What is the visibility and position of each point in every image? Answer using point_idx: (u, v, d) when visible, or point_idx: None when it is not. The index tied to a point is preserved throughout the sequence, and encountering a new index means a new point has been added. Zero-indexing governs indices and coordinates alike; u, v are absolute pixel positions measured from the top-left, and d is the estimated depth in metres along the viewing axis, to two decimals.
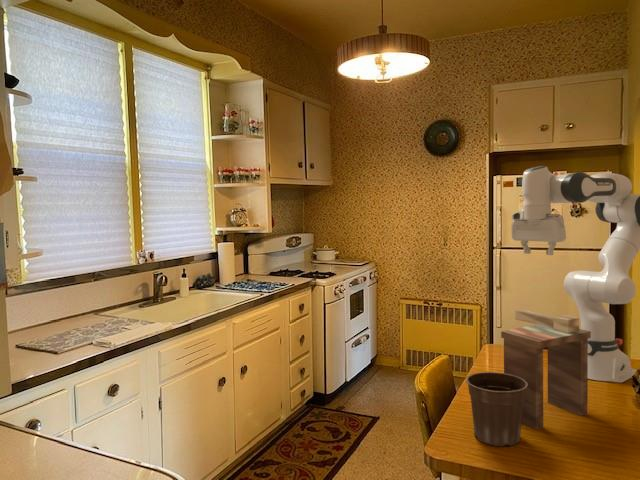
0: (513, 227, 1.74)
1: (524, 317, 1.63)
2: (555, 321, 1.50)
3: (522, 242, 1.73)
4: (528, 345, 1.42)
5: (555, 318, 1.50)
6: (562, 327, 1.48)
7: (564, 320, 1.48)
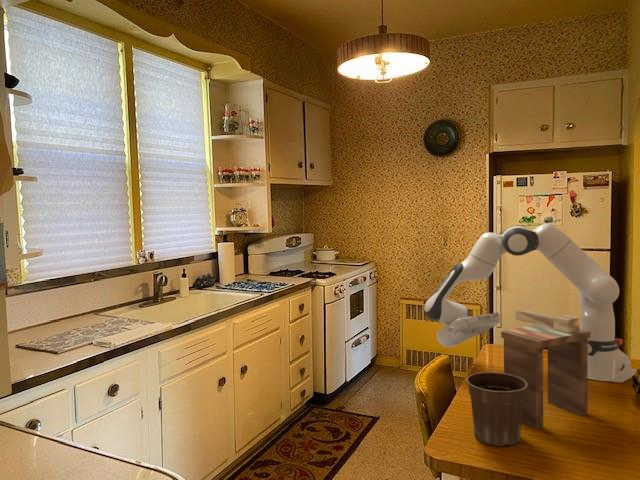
0: (491, 326, 1.90)
1: (524, 317, 1.63)
2: (555, 321, 1.50)
3: (494, 320, 1.85)
4: (528, 345, 1.42)
5: (555, 318, 1.50)
6: (562, 327, 1.48)
7: (564, 320, 1.48)
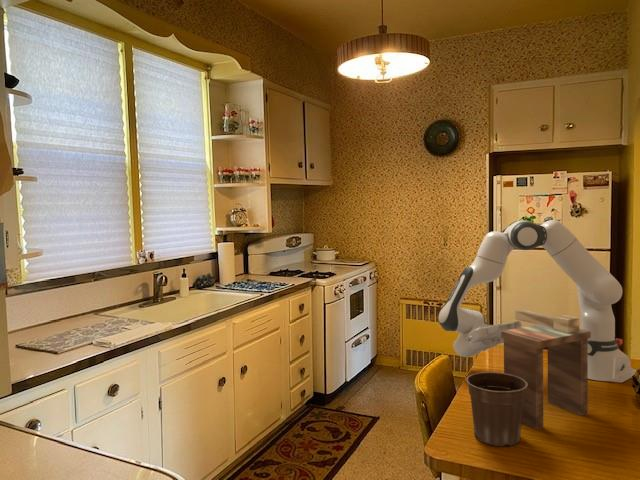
0: None
1: (524, 317, 1.63)
2: (555, 321, 1.50)
3: None
4: (528, 345, 1.42)
5: (555, 318, 1.50)
6: (562, 327, 1.48)
7: (564, 320, 1.48)
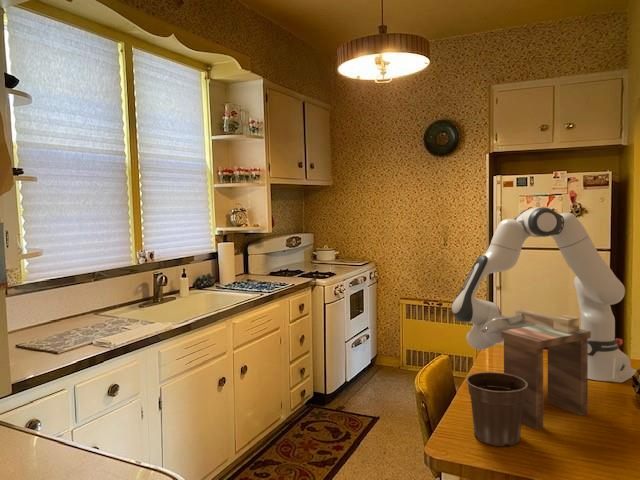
0: None
1: None
2: (555, 321, 1.50)
3: None
4: (528, 345, 1.42)
5: (555, 318, 1.50)
6: (562, 327, 1.48)
7: (564, 320, 1.48)
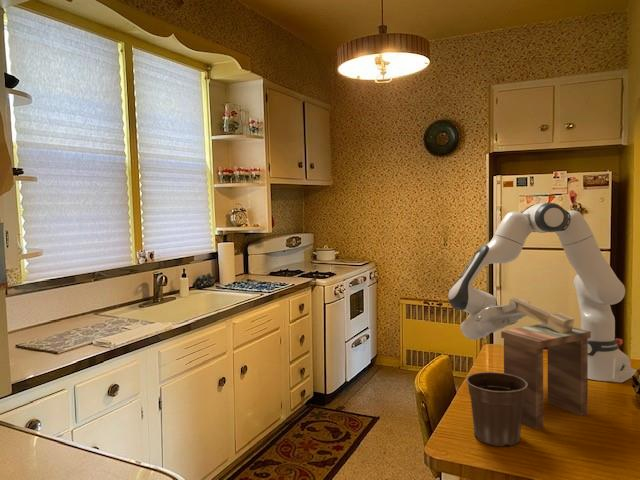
0: (523, 316, 1.72)
1: None
2: (550, 319, 1.50)
3: None
4: (528, 345, 1.42)
5: (551, 316, 1.49)
6: (556, 326, 1.48)
7: (560, 320, 1.47)
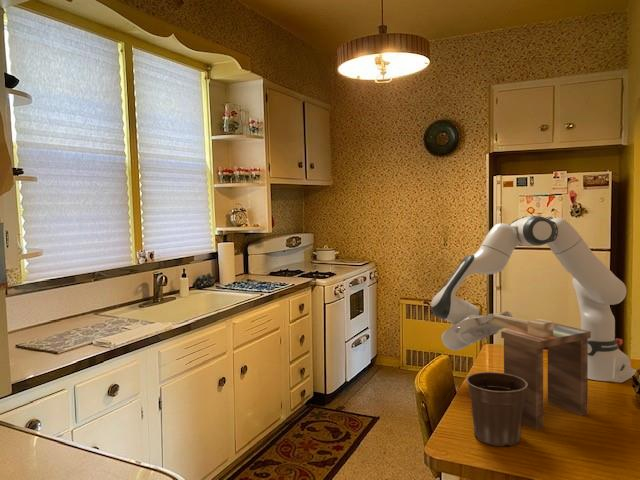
0: None
1: (496, 321, 1.58)
2: (529, 325, 1.46)
3: None
4: (528, 345, 1.42)
5: (529, 322, 1.46)
6: (536, 332, 1.44)
7: (539, 324, 1.43)
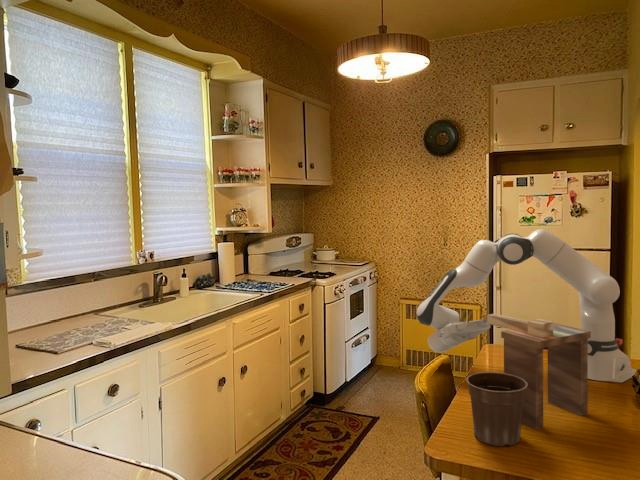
0: (482, 332, 1.90)
1: (496, 321, 1.58)
2: (529, 325, 1.46)
3: (484, 325, 1.85)
4: (528, 345, 1.42)
5: (529, 322, 1.46)
6: (536, 332, 1.44)
7: (539, 324, 1.43)
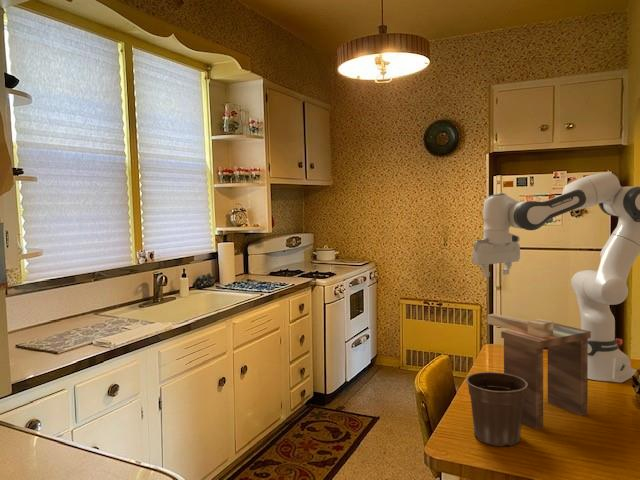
0: None
1: (496, 321, 1.58)
2: (529, 325, 1.46)
3: None
4: (528, 345, 1.42)
5: (529, 322, 1.46)
6: (536, 332, 1.44)
7: (539, 324, 1.43)
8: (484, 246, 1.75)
